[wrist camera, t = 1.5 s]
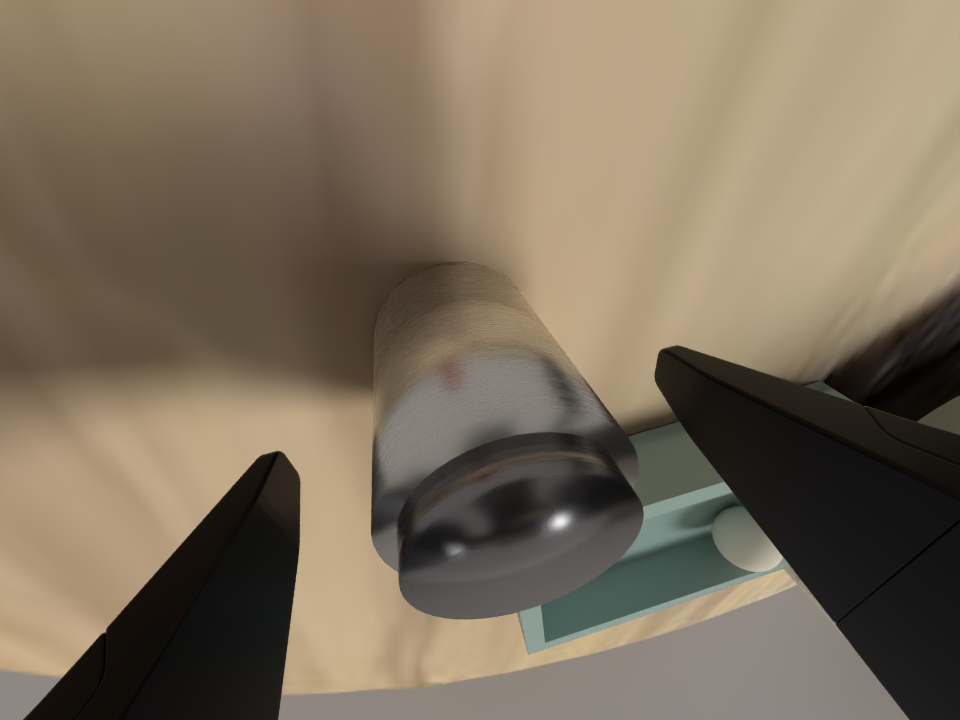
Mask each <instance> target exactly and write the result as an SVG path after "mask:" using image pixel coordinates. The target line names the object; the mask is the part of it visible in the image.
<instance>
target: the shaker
mask: <svg viewBox="0 0 960 720" xmlns="http://www.w3.org/2000/svg"><path fill="white" fill-rule="evenodd" d="M638 470H639V463H638V456H637V453H636V450H635V448H634V446H633V444H632V443H631V441H630V440H629V438H628V437H627V435H626V434H625V433H624V431H623V430H622V429H621V427H620V426H619V425H618V423H617V422H616V421H615V419H614V418H613V417H612V415H611V414H610V412H609V411H608V410H607V408H606V407H605V406H604V404H603V403H602V402H601V400H600V399H599V398H598V396H597V395H596V394H595V392H594V391H593V390H592V388H591V387H590V386H589V384H588V383H587V382H586V380H585V379H584V377H583V376H582V375H581V373H580V372H579V371H578V369H577V368H576V367H575V365H574V364H573V363H572V361H571V360H570V359H569V357H568V356H567V355H566V353H565V352H564V351H563V349H562V348H561V347H560V345H559V344H558V342H557V341H556V340H555V338H554V337H553V336H552V334H551V333H550V332H549V330H548V329H547V328H546V326H545V325H544V324H543V322H542V321H541V320H540V318H539V317H538V316H537V314H536V313H535V312H534V310H533V309H532V307H531V306H530V305H529V303H528V302H527V301H526V299H525V298H524V297H523V295H522V294H521V293H520V291H519V290H518V289H517V287H516V286H515V285H514V284H513V283H512V282H511V281H510V280H508V279H507V278H506V277H505V276H503V275H502V274H500V273H498V272H496V271H495V270H493V269H490V268H487V267H485V266H481V265H477V264H472V263H447V264H441V265H437V266H433V267H430V268H427V269H425V270H422V271H420V272H418V273H416V274H414V275H412V276H411V277H409V278H407V279H406V280H405V281H404V282H402V283H401V284H400V285H399V286H397V288H396V289H395V290H394V291H393V292H392V293H391V294H390V295H389V297H388V298H387V299H386V301H385V302H384V304H383V306H382V308H381V309H380V311H379V314H378V317H377V320H376V324H375V329H374V372H373V440H372V508H371V536H372V541H373V545H374V547H375V549H376V551H377V553H378V555H379V556H380V557H381V558H382V560H383V561H384V562H385V563H386V564H388V565H389V566H390V567H391V568H392V569H394V570H396V571H398V573H399V585H400V590H401V593H402V595H403V597H404V598H405V599H406V600H407V602H408V603H409V604H410V605H412V606H413V607H415V608H416V609H418V610H420V611H422V612H424V613H427V614H430V615H433V616H437V617H442V618H449V619H482V618H490V617H497V616H503V615H508V614H512V613H516V612H520V611H524V610H527V609H531V608H534V607H537V606H540V605H542V604H545V603H548V602H550V601H553V600H555V599H558V598H560V597H562V596H564V595H566V594H568V593H571V592H573V591H574V590H576V589H578V588H580V587H582V586H584V585H585V584H587V583H588V582H590V581H592V580H593V579H595V578H596V577H598V576H599V575H601V574H602V573H603V572H605V571H606V570H607V569H609V568H610V567H611V566H612V565H613V564H615V563H616V562H617V561H618V560H619V559H620V558H621V557H622V556H623V555H624V554H625V553H626V551H627V550H628V549H629V548H630V547H631V545H632V544H633V542H634V541H635V540H636V538H637V536H638V534H639V532H640V530H641V527H642V524H643V517H644V511H643V505H642V503H641V501H640V499H639V497H638V496H637V494H636V492H635V491H634V488H635V485H636V482H637V478H638Z"/></svg>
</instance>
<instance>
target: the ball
mask: <svg viewBox="0 0 960 720" xmlns="http://www.w3.org/2000/svg"><path fill="white" fill-rule="evenodd" d="M712 535H713V539H714V542H715V545H716V546H717V548H718V550H719V551H720V553H721V554H722V555H723V556H724V557H725V558H726V559H727V560H728V561H730V562H731V563H732V564H734V565H735V566H737V567H739V568H742V569H745V570H748V571H754V572H763V571H768V570H770V569H772V568H774V567H776V566H777V565H778V564H779V563H780V562H781V560H782V559H783V556H782V555H781V554H780V552H779V551H778V550H777V549H776V547H775V546H774V545H773V544H772V542H771V541H770V540H769V538H768V537H767V536H766V535H765V533H764V532H763V531H762V529H761V528H760V527H759V526H758V524H757V523H756V522H755V520H754V519H753V518H752V517H751V515H750V514H749V513H748V511H747V510H746V509H745V508H744V506H734V507H730V508H727V509H725V510H723V511H721V512H720V513H719V514H718V515H717V517H716V518H715V520H714V522H713V526H712Z"/></svg>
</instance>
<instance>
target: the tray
mask: <svg viewBox="0 0 960 720" xmlns="http://www.w3.org/2000/svg"><path fill="white" fill-rule="evenodd" d="M805 386H806V387H809V388H812V389H815V390H818V391H821V392H824V393H827V394H831V395H834V396H837V397H840V398H843V399H846V400H849V401H852V400H850V399H848V398H847V397H845V396H844V395H842V394H841V393H839V392H837V391H836V390H834V389H833V388H831V387H829V386H828V385H826V384H825V383H823V382H822V381H819V382H816V383H812V384H809V385H805ZM852 402H853V401H852ZM627 437H628V438H629V440H630V441H631V443H632V444H633V446H634V448H635V450H636V453H637V456H638V463H639V470H638V478H637V482H636V485H635V488H634V491H635V492H636V494H637V496H638V497H639V499H640V501H641V503H642V505H643V511H644V517H643V524H642V527H641V530H640V532H639V534H638V536H637V538H636V540H635V541H634V542H633V544H632V545H631V547H630V548H629V549H628V550H627V551H626V553H625V554H624V555H623V556H622V557H621V558H620V559H619V560H618V561H617V562H616V563H615V564H613V565H612V566H611V567H610V568H609V569H607V570H606V571H605V572H603V573H602V574H601V575H599V576H598V577H596V578H595V579H593V580H592V581H590V582H588V583H587V584H585V585H584V586H582V587H580V588H578V589H576V590H574V591H573V592H571V593H568V594H566V595H564V596H562V597H560V598H558V599H555V600H553V601H550V602H548V603H545V604H542V605H540V606H537V607H534V608H531V609H527V610H524V611H520V612H517V615H518V618H519V622H520V626H521V629H522V633H523V637H524V640H525V644H526V648H527V652H528V655H529V654H532V653H535V652H538V651H541V650H544V649H547V648H550V647H553V646H556V645H559V644H562V643H565V642H568V641H571V640H574V639H577V638H580V637H583V636H586V635H589V634H592V633H595V632H598V631H601V630H603V629H606V628H609V627H612V626H615V625H618V624H621V623H624V622H627V621H630V620H633V619H636V618H639V617H642V616H645V615H648V614H651V613H654V612H657V611H660V610H663V609H666V608H669V607H672V606H675V605H677V604H680V603H683V602H686V601H689V600H692V599H695V598H698V597H701V596H704V595H707V594H710V593H713V592H716V591H719V590H722V589H725V588H728V587H731V586H734V585H737V584H740V583H743V582H746V581H749V580H752V579H754V578H757V577H760V576H763V575H766V574H769V573H772V572H775V571H778V570H781V569H784V568H787V567H788V566H789V564H788V563H787V561H786V560H785V559H784V558H783V559H782V560H781V562H780V563H779V564H778V565H777V566H776V567H774V568H772V569H770V570H768V571H763V572H754V571H748V570H745V569H742V568H739V567H737V566H735V565H734V564H732V563H731V562H730V561H728V560H727V559H726V558H725V557H724V556H723V555H722V554H721V553H720V551H719V550H718V548H717V546H716V545H715V542H714V539H713V535H712V526H713V522H714V520H715V518H716V517H717V515H718V514H719V513H720V512H721V511H723V510H725V509H727V508H730V507H734V506H743V505H742V504H741V502H740V501H739V500H738V499H737V497H736V496H735V495H734V493H733V492H732V491H731V490H730V488H729V487H728V486H727V484H726V483H725V482H724V481H723V479H722V478H721V477H720V475H719V474H718V473H717V472H716V470H715V469H714V468H713V466H712V465H711V464H710V463H709V461H708V460H707V459H706V458H705V456H704V455H703V454H702V452H701V451H700V450H699V449H698V447H697V446H696V445H695V443H694V442H693V441H692V439H691V438H690V437H689V435H688V434H687V432H686V431H685V429H684V428H683V426H682V425H681V423H680V421H679V422H676V423H672V424H669V425H665V426H662V427H658V428H655V429H651V430H648V431H644V432H641V433H637V434H634V435H630V436H627Z"/></svg>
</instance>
